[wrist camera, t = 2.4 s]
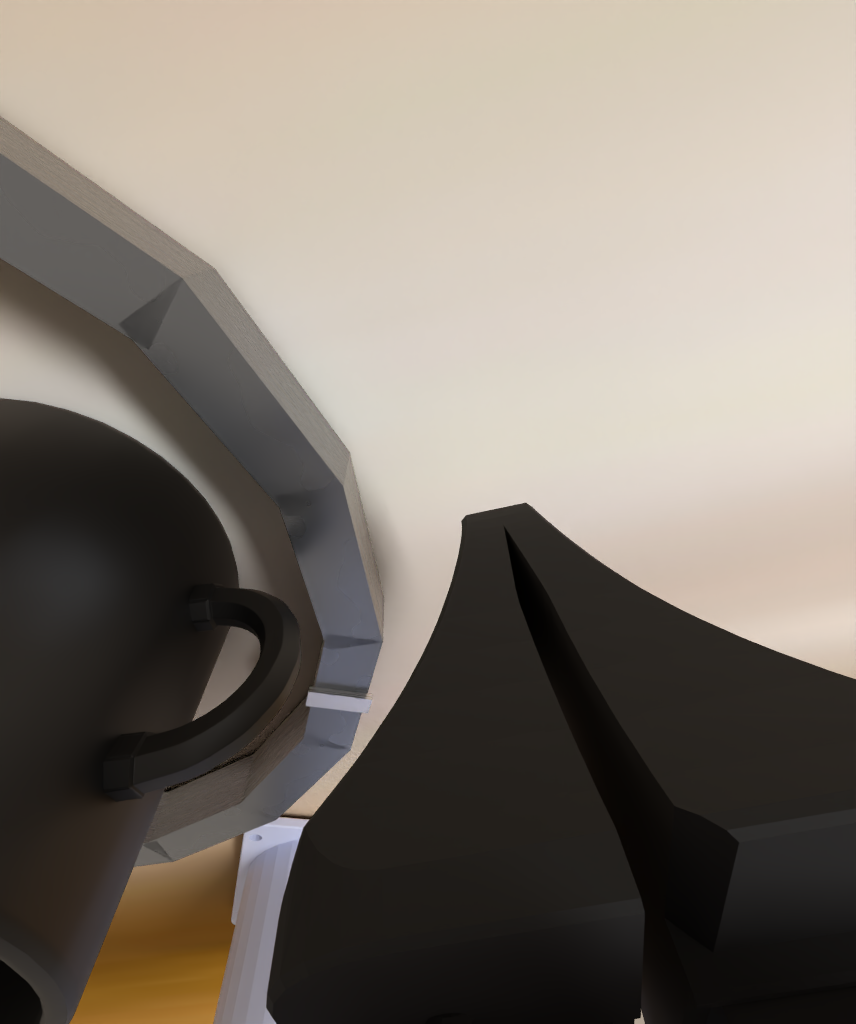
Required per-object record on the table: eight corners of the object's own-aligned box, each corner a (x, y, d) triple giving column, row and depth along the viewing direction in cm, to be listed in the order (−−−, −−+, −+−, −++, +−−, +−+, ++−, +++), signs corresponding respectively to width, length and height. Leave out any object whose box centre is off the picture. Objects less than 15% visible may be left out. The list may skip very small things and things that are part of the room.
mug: (357, 648, 16) (322, 1049, 8) (-8, 690, 16) (-379, 1128, 8) (286, 355, 11) (49, 664, 4) (-236, 415, 11) (-1619, 852, 4)
